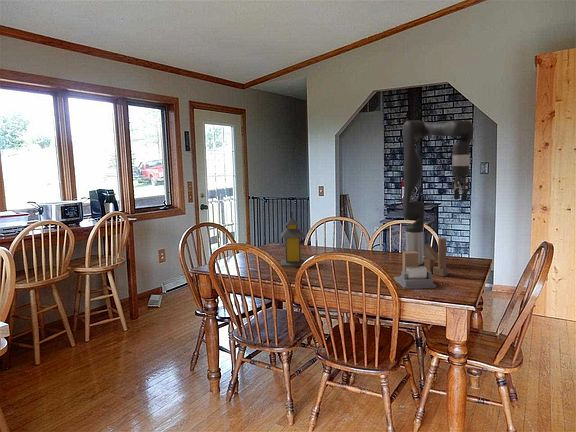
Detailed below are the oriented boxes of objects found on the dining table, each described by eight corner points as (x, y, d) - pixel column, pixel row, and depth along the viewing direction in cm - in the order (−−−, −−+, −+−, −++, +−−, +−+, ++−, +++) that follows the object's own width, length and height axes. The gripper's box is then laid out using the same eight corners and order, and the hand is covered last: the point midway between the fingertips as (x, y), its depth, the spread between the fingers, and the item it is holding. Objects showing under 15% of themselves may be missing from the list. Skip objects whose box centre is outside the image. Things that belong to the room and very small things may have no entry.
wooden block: (428, 271, 220) (428, 235, 218) (447, 275, 212) (448, 238, 210) (423, 272, 218) (424, 236, 216) (443, 276, 210) (443, 239, 208)
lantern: (280, 266, 240) (278, 211, 236) (280, 261, 254) (279, 209, 250) (306, 266, 240) (305, 210, 236) (305, 260, 254) (303, 208, 250)
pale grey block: (406, 282, 199) (406, 267, 198) (423, 281, 199) (424, 266, 198) (408, 284, 195) (408, 268, 194) (426, 283, 195) (426, 268, 194)
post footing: (393, 278, 209) (393, 251, 207) (423, 277, 209) (423, 250, 207) (403, 289, 192) (403, 259, 190) (435, 287, 192) (436, 258, 191)
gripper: (446, 165, 210) (446, 199, 212) (459, 165, 196) (458, 201, 198) (462, 164, 210) (462, 198, 212) (475, 164, 196) (475, 201, 198)
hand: (460, 200), depth 205 cm, fingers open, 8 cm apart
